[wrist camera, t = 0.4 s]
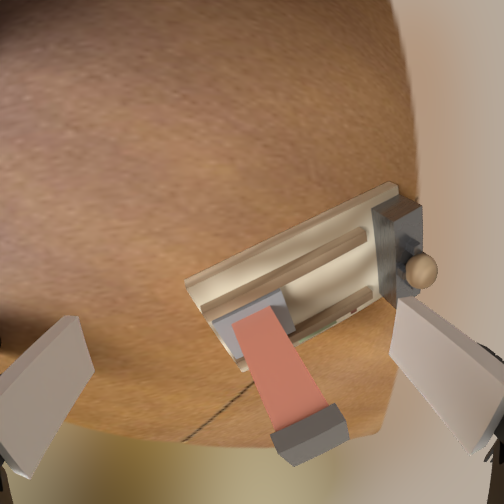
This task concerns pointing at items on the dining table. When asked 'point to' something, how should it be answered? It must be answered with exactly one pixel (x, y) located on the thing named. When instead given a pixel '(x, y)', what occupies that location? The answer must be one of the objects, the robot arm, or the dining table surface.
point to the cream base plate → (302, 270)
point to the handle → (282, 379)
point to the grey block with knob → (396, 244)
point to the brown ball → (421, 271)
